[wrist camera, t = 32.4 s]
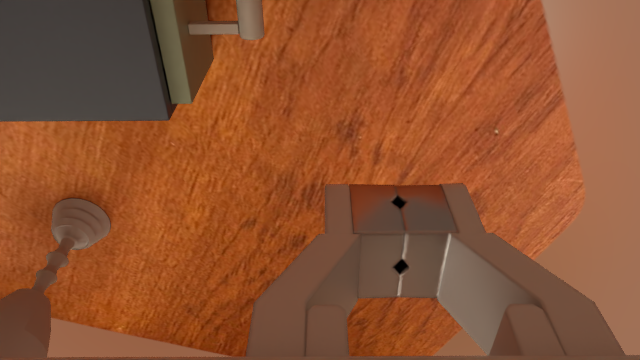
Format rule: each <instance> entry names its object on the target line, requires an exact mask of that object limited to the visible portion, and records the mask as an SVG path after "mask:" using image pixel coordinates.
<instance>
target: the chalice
mask: <svg viewBox="0 0 640 360" xmlns="http://www.w3.org/2000/svg"><path fill="white" fill-rule="evenodd" d="M52 217H53V218H52V226H51V231H52V234H53V236H54V239H55V240H56V241H57V242H58V243H59V244H60V245H59V248H57V249H56V250H55V251H54V252H50V253H48V254H47V255H46V259H47V261H48V263H47V266H46V267H45V268H44V269H42V270H39V271H37V273H36V277H37V279H36V282H35V285H34V286H33V287H32V288H31V289H18V290H16V291H15V292H13V293H11V294H9V295H8V296H6V297H4V298H2V299H1V300H0V358H47V353H48V347H49V340H50V332H51V305H50V301H49V299H48V298H47V297H46V296H45V295H44V291H45V290H46V289H47V288H48V287H49V286H50V285H51V284H53V283H55V282H56V281H57V276H56V274H57V270H58V269H59V268H60V267H65V266H66V265H67V264H68V258H67V255H68V252H69V251H70V250H71V249H72V250H80V249H85V248H88V247H90V246H92V245H93V244H94V243H96V242H98V241H99V240H100V239H102V238H103V237H105V236H106V235H107V234H108V233H109V231H110V226H111V224H110V220H109V218H108V216H107V215H106V213H105V212H104V211H103V210H102V209H101V208H99V207H98V206H97V205H95V204H93V203H91V202H89V201H86V200H82V199H72V198H70V199H65V200H62V201H60V202H59V203H57V204H56V205H55V207H54V208H53V214H52Z"/></svg>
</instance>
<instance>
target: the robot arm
mask: <svg viewBox="0 0 640 360" xmlns="http://www.w3.org/2000/svg"><path fill="white" fill-rule="evenodd" d="M386 297H412V298H438V299H437V300H438V301H439V302H440V303H441V305H442V306H443V307H444V308H445V309H446V310H447V311H448V312H449V313H450V314H451V316H452V317H453V318H454V319H455V320H456V321H457V322H458V323H459V324H460V326H461V327H462V328H463V329H464V330H465V331H466V332H467V333H468V334H469V335H470V336H471V337H472V339H473V340H474V341H475V342H476V343H477V344H478V345H479V346H480V347H481V349H482V350H483V351H484V352H485V353H486V354H487V355H488V356H349V348H348V333H347V317H348V315H349V314H350V312H351V310H352V309H353V307H354V305H355V304H356V302H357V299H358V298H386ZM0 360H640V355H625V353H624V351H623V350H622V348H621V346H620V345H619V343H618V341H617V340H616V338H615V336H614V335H613V333H612V331H611V329H610V328H609V326H608V324H607V323H606V321H605V320H604V318H603V316H602V314H601V313H600V311H599V309H598V307H597V306H596V304H595V302H593V301H592V300H590V299H589V298H587V297H586V296H585V295H583V294H582V293H580V292H579V291H577V290H576V289H574V288H573V287H571V286H570V285H568V284H567V283H566V282H564V281H563V280H561V279H560V278H558V277H557V276H555V275H554V274H552V273H551V272H549V271H548V270H546V269H545V268H543V267H542V266H541V265H539V264H538V263H536V262H535V261H533V260H532V259H530V258H529V257H527V256H526V255H525V254H523V253H522V252H520V251H519V250H517V249H516V248H514V247H513V246H511V245H510V244H508V243H507V242H506V241H504V240H503V239H501V238H500V237H498V236H497V235H495V234H494V233H486V231H485V229H484V227H483V225H482V222H481V220H480V218H479V215H478V213H477V211H476V208H475V206H474V204H473V201H472V199H471V197H470V194H469V192H468V190H467V187H466V186H465V185H464V184H463V183H456V184H439V185H365V184H349V186H348V184H326V185H325V234H318V235H317V236H316V237H315V239H314V240H313V241H312V242H311V243H310V244H309V245H308V246H307V247H306V248H305V249H304V250H303V251H302V252H301V253H300V254H299V256H298V257H297V258H296V259H295V260H294V261H293V262H292V263H291V264H290V265H289V266H288V267H287V268H286V269H285V270H284V271H283V273H282V274H281V275H280V276H279V277H278V278H277V279H276V280H275V281H274V282H273V283H272V284H271V285H270V286H269V287H268V289H267V290H266V291H265V292H264V293H263V294H262V295H261V296H260V297H259V298H258V299H257V300H256V301H255V302H254V306H253V312H252V319H251V325H250V332H249V339H248V345H247V352H246V357H71V358H70V357H63V358H62V357H59V358H58V357H56V358H55V357H54V358H0Z"/></svg>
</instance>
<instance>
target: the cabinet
mask: <svg viewBox="0 0 640 360" xmlns="http://www.w3.org/2000/svg"><path fill="white" fill-rule="evenodd" d="M176 106H177V104H172V102H171V97H170V93H169V88H168V83H167V79H166V74H165V69H164V67H163V68H162V63H161V58H160V54H159V49H158V44H157V40H156V35H155V30H154V26H153V21H152V16H151V12H150V7H149V2H148V0H0V121H160V120H170V118H171V116H172V113H173V112H174V110H175V108H176Z"/></svg>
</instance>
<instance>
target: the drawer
mask: <svg viewBox="0 0 640 360" xmlns="http://www.w3.org/2000/svg"><path fill="white" fill-rule="evenodd" d="M150 3H151V8H152V13H151V16H152V21H153V26H154V30H155V35H156V40H157V44H158V49H159V54H160V58H161V63H162V68H163V67H164V69H165V74H166V79H167V83H168V88H169V93H170V97H171V102H172V104H191V103H192V102H193V100H194V98H195V96H196V94H197V92H198V90H199V88H200V86H201V84H202V82H203V80H204V78H205V76H206V74H207V72H208V69H209V67H210V65H211V63H212V61H213V59H214V57H213V50H212V44H211V37H210V34H239V33H240V37H241V38H242V39H245V40H257V39H260V38H262V37H264V22H263V9H262V0H236V5H237V15H238V21H208V16H207V9H206V2H205V0H150Z"/></svg>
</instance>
